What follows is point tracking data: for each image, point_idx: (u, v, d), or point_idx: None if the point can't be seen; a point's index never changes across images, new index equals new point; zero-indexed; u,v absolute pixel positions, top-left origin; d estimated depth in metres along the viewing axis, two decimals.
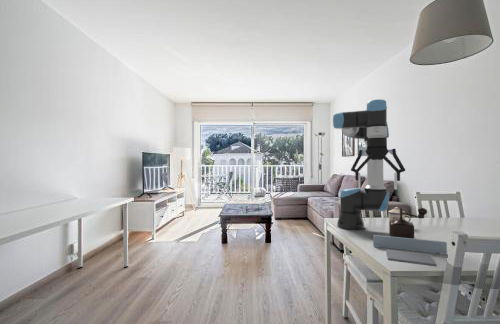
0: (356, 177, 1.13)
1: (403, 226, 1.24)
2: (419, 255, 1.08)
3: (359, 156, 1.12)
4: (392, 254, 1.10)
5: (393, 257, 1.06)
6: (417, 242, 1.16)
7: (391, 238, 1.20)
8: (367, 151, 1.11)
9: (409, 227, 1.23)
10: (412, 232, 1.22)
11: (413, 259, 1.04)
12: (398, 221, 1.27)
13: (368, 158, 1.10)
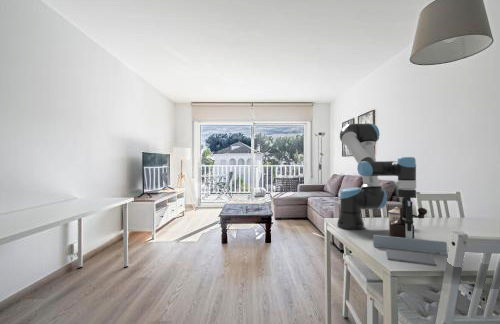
0: None
1: (403, 226, 1.24)
2: (419, 255, 1.08)
3: None
4: (392, 254, 1.10)
5: (393, 257, 1.06)
6: (417, 242, 1.16)
7: (391, 238, 1.20)
8: (403, 199, 1.31)
9: None
10: None
11: (413, 259, 1.04)
12: (398, 221, 1.27)
13: (402, 206, 1.31)
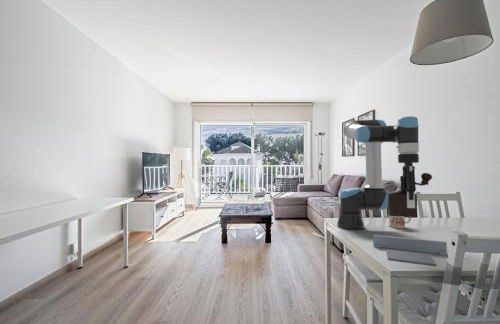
0: None
1: (404, 195, 1.08)
2: (419, 255, 1.08)
3: None
4: (392, 254, 1.10)
5: (393, 257, 1.06)
6: (417, 242, 1.16)
7: (391, 238, 1.20)
8: (404, 167, 1.15)
9: None
10: (415, 201, 1.06)
11: (413, 259, 1.04)
12: (398, 190, 1.11)
13: (403, 174, 1.15)
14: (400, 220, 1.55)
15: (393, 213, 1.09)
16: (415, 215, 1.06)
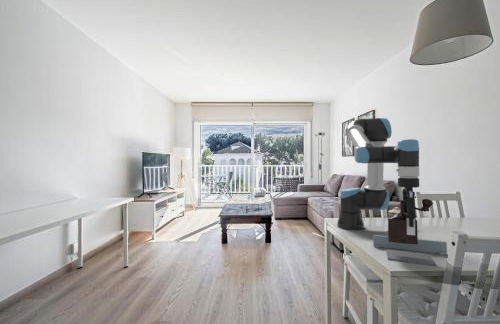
0: None
1: (404, 221, 1.04)
2: (419, 255, 1.08)
3: None
4: (392, 254, 1.10)
5: (393, 257, 1.06)
6: None
7: None
8: (404, 190, 1.12)
9: None
10: (415, 228, 1.03)
11: (413, 259, 1.04)
12: (398, 215, 1.07)
13: (403, 198, 1.11)
14: None
15: (393, 240, 1.06)
16: (415, 242, 1.03)
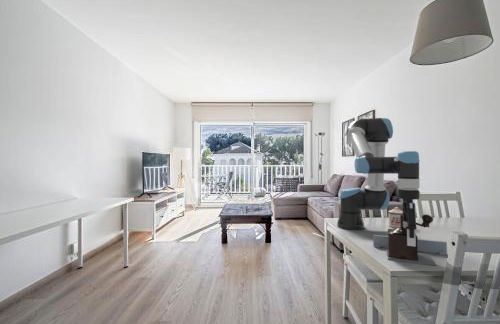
0: None
1: (404, 236, 1.05)
2: (419, 255, 1.08)
3: None
4: None
5: None
6: (417, 242, 1.16)
7: None
8: (404, 201, 1.12)
9: None
10: (416, 244, 1.03)
11: None
12: (398, 230, 1.08)
13: (403, 208, 1.12)
14: (400, 220, 1.55)
15: (393, 255, 1.06)
16: (415, 258, 1.03)
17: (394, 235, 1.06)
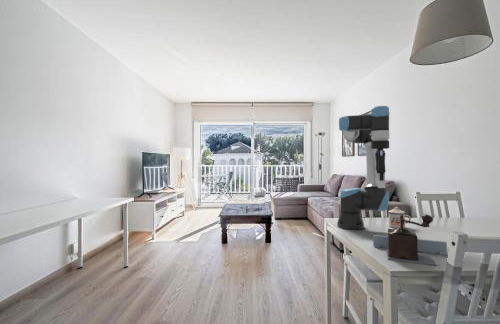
0: None
1: (404, 236, 1.05)
2: (419, 255, 1.08)
3: None
4: None
5: None
6: (417, 242, 1.16)
7: None
8: None
9: (411, 237, 1.04)
10: (416, 244, 1.03)
11: None
12: (398, 230, 1.08)
13: None
14: (400, 220, 1.55)
15: (393, 255, 1.06)
16: (415, 258, 1.03)
17: (394, 235, 1.06)
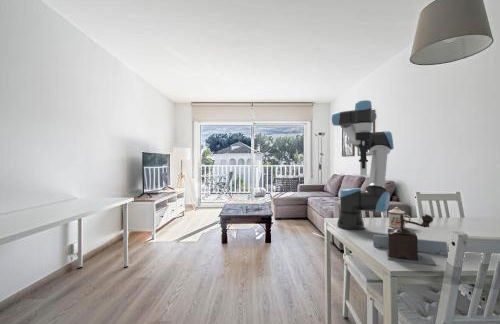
0: None
1: (404, 236, 1.05)
2: (419, 255, 1.08)
3: None
4: None
5: None
6: (417, 242, 1.16)
7: None
8: None
9: (411, 237, 1.04)
10: (416, 244, 1.03)
11: None
12: (398, 230, 1.08)
13: None
14: (400, 220, 1.55)
15: (393, 255, 1.06)
16: (415, 258, 1.03)
17: (394, 235, 1.06)
